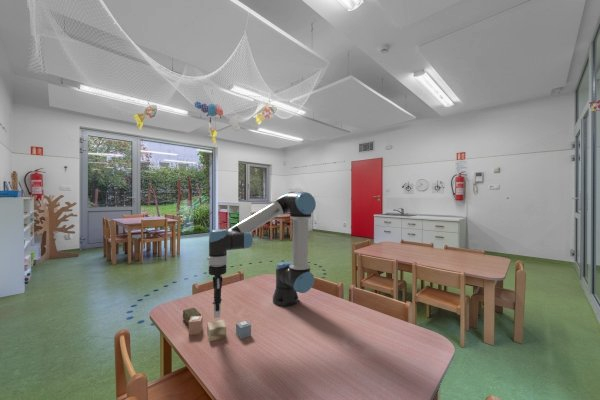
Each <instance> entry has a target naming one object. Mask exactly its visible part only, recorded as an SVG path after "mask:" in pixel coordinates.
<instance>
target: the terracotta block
mask: <svg viewBox="0 0 600 400" xmlns="http://www.w3.org/2000/svg"><path fill="white" fill-rule="evenodd" d="M203 319H204V317H203V315H201V316H191V318H190V320H189V325H188V336H193V335H201V333H202V331H203V325H204V324H203V323H204V322H203V321H204V320H203Z"/></svg>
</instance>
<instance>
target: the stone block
mask: <svg viewBox="0 0 600 400" xmlns="http://www.w3.org/2000/svg"><path fill="white" fill-rule="evenodd" d="M182 312H183V313H182V319H183V320H184V322H185V323H186V324H187V325H188V326H189V320H190V318H191V316H202V314H201V313H200V311H198V309H197V308H195V307H191V308H186V309H183V311H182Z"/></svg>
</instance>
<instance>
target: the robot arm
mask: <svg viewBox="0 0 600 400" xmlns="http://www.w3.org/2000/svg"><path fill="white" fill-rule="evenodd" d="M316 207H317V205H316V199H315V196H314V195H312V194H311V193H309V192H306V191H290V192H286V193H285V194H283V195H280V196H278V198H276V199H274V200H273V201H272V202H271V203H270V204H269V205H268V206H266V207H264V208H262V209H260V210H259V211H257V212H256V213H254V214H252V215H251V216H249V217H247V218H245V219H243V220H242V221H241V222H239V223H237V224H235V225H233V226H231V227H230V228H224V229H211V230H210V232H209V234H208V235H209V236H208V252H209V253H208V257H207V261H208V265H209V266H208V274H209V275H210V276H212V286H213V302H212V305H213V318H214V319H217V318H221V304H222V301H223V300H222V297H221V296H222V286H223V285H222V284H223V276H222V275H225V274H226V273H227V263H228V262H227V261H228V260H227V259H228V258H227V257H228V254H227V251H233V250H245V249H249V248H251V247H252V245H253V241H254V240H253V236H252V234H251V233H253V231H255V230H257V229H259V228H260V227H262V226H264V225H265V224H266V223H268V222H270V221H271V220H273V219H274V218H276V217H278V216H283V215H284V214H287V213H288V214H289V217H290V218H291V219H292V235H291V236H292V239H291V240H292V243H291V249H292V250H291V260H289V261H281V262H278V263H276V266H275V289H274V293H273V296H272V303H273V304H274V305H277V306H281V307H290V306H294V305H296V304H297V303H298V302H299V296H298V293H300V294H304V293H305V294H306V293H307V292H309V291H310V290H311V289H312V287H313V286H314V283H315V277H314V275H313V273H312V272H311V265H310V264H309V263H308V259H309V258H308V255H309V254H308V250H309V220H310V219H311V218H312V213H314V211H315V209H316Z"/></svg>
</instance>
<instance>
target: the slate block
mask: <svg viewBox="0 0 600 400" xmlns="http://www.w3.org/2000/svg"><path fill="white" fill-rule="evenodd" d="M235 334H236V336H237V337H238V339H239V340H243V339H245V338H247V337H250V336H252V324H251V323H250V321H248V320H246V319H245V320H242V321H240V322H236V323H235Z"/></svg>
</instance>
